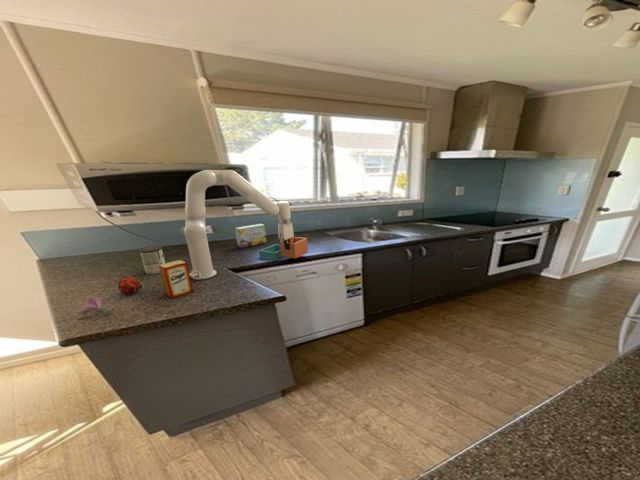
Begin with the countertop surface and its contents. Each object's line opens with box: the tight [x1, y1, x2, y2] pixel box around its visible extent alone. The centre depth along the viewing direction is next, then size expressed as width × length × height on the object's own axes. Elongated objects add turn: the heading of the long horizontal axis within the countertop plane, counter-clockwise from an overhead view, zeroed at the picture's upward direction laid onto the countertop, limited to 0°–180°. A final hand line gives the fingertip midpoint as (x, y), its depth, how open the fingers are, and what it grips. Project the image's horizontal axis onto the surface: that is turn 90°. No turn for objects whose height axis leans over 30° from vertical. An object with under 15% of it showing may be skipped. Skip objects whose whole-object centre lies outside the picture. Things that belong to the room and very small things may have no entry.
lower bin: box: [258, 243, 283, 261], centre depth 198 cm, size 16×13×6 cm
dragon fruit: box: [117, 276, 143, 296], centre depth 142 cm, size 8×8×12 cm
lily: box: [78, 292, 110, 320], centre depth 121 cm, size 12×12×10 cm
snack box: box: [234, 223, 267, 249], centre depth 222 cm, size 21×6×15 cm, turn 143°
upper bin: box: [279, 236, 309, 259], centre depth 191 cm, size 14×11×10 cm
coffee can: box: [138, 245, 166, 275], centre depth 168 cm, size 10×10×14 cm
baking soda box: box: [159, 259, 194, 299], centre depth 140 cm, size 10×6×16 cm
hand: (288, 249), depth 185 cm, fingers closed on upper bin, 1 cm apart
